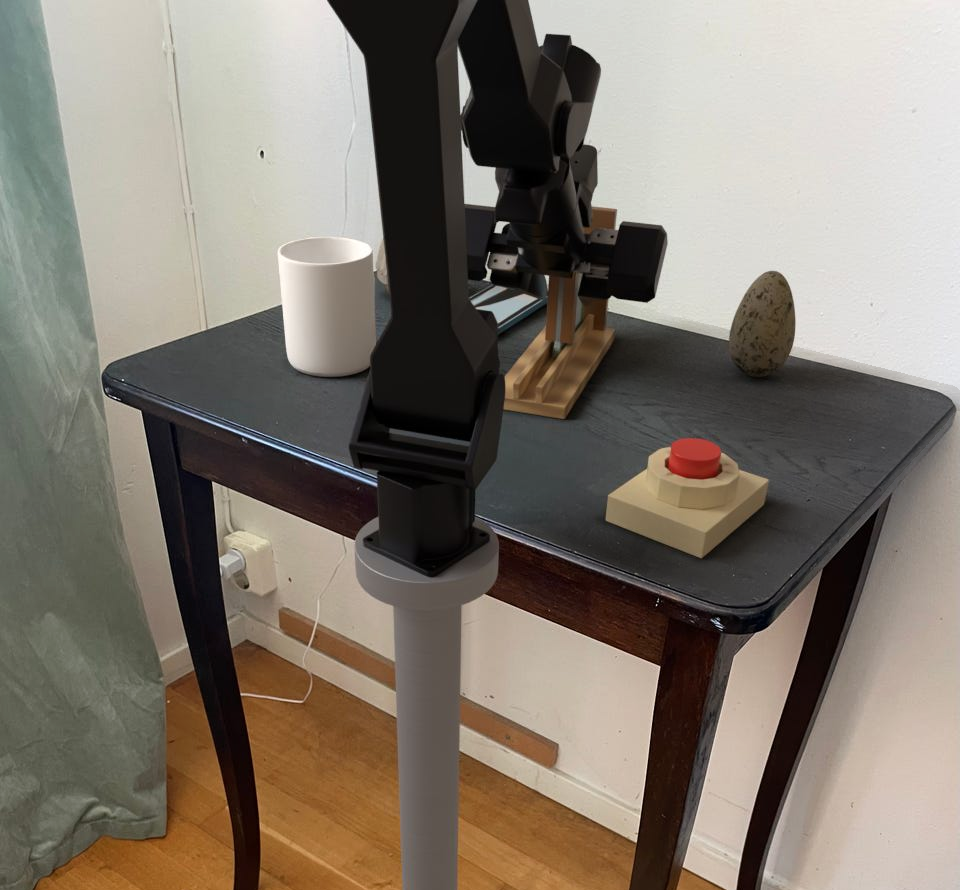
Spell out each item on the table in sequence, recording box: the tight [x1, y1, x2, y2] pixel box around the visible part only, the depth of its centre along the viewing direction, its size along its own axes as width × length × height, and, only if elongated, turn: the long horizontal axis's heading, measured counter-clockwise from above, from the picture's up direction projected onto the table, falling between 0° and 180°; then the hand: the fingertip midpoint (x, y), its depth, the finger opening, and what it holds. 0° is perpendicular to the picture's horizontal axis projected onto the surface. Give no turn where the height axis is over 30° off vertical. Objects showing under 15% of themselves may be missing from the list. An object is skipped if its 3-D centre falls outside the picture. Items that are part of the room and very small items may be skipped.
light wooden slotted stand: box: [503, 206, 618, 420], centre depth 95 cm, size 20×7×13 cm, turn 162°
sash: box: [545, 263, 584, 357], centre depth 98 cm, size 9×2×9 cm, turn 162°
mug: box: [277, 236, 377, 378], centre depth 97 cm, size 9×12×11 cm
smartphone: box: [469, 283, 548, 335], centre depth 111 cm, size 7×1×15 cm
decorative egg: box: [728, 270, 797, 378], centre depth 96 cm, size 6×6×10 cm
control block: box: [605, 446, 770, 559], centre depth 76 cm, size 10×8×4 cm
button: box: [668, 437, 722, 480], centre depth 74 cm, size 4×4×2 cm
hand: (566, 298), depth 96 cm, fingers open, 4 cm apart
